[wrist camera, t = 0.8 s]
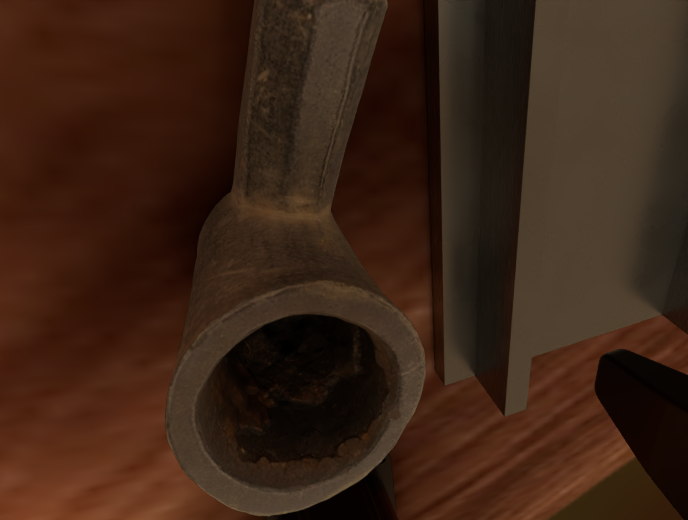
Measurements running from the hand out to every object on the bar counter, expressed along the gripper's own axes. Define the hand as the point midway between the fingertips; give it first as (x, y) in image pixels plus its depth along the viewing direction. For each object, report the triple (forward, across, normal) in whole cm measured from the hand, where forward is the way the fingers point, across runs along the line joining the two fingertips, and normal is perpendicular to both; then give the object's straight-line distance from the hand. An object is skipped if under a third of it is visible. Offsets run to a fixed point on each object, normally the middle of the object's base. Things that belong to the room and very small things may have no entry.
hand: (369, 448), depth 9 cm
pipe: (+11, 0, 0) cm, 11 cm away
